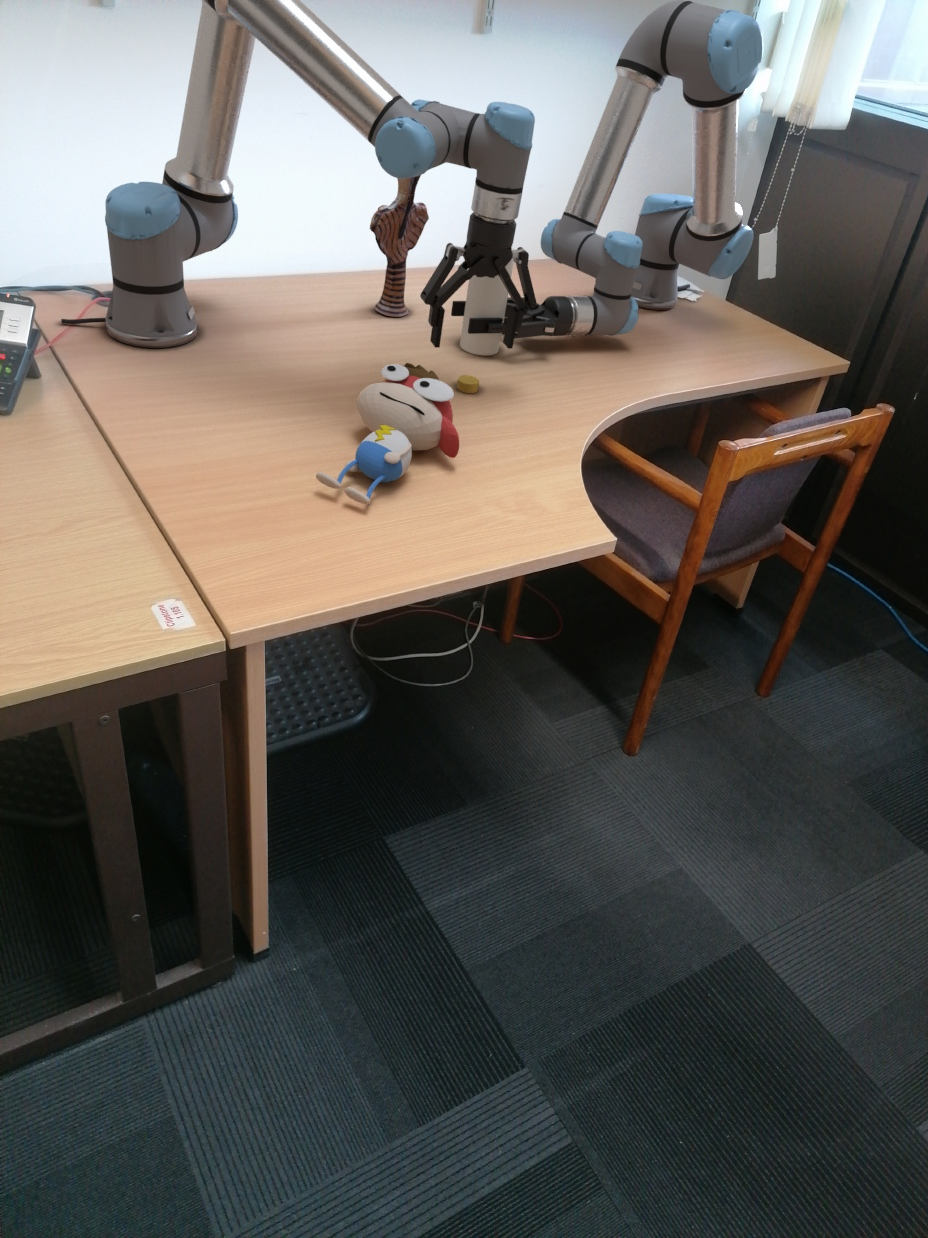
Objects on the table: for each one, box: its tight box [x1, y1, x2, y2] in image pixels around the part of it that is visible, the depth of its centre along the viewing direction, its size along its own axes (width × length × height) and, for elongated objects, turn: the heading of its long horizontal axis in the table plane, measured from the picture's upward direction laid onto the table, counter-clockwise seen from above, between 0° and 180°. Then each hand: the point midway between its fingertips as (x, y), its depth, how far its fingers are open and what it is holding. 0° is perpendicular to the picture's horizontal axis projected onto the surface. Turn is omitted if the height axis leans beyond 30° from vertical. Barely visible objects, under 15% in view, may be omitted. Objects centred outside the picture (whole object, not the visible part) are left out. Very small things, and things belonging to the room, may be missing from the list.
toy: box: [315, 362, 460, 505], centre depth 132 cm, size 18×10×30 cm
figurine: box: [369, 175, 430, 318], centre depth 173 cm, size 15×8×30 cm, turn 144°
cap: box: [456, 374, 480, 394], centre depth 158 cm, size 4×4×2 cm
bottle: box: [459, 244, 515, 357], centre depth 166 cm, size 8×8×24 cm
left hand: (471, 344), depth 153 cm, fingers open, 13 cm apart
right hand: (461, 316), depth 168 cm, fingers closed on bottle, 8 cm apart
